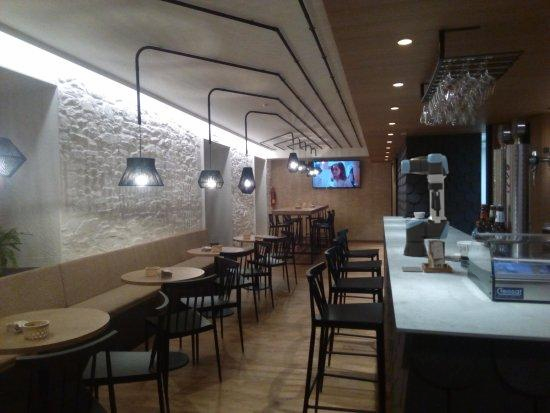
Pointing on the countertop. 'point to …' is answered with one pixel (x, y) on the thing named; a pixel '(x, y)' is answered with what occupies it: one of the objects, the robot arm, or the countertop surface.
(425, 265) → the walnut collar
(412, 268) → the slate mat
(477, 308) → the countertop surface
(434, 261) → the coffee box
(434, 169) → the robot arm
